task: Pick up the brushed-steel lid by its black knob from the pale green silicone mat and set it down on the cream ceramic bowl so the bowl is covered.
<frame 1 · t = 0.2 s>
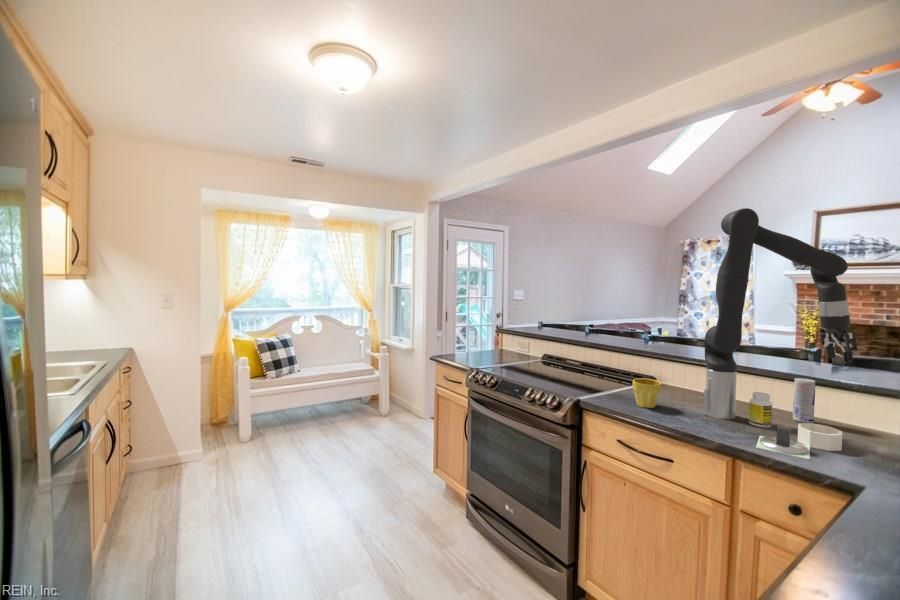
hand: (839, 360, 139), 22 cm above the countertop, tool pointing down, fingers open, 8 cm apart
bowl: (818, 444, 123), on the countertop
mat: (782, 447, 121), on the countertop
lid: (782, 446, 121), resting on mat
plant pot: (646, 405, 161), on the countertop
beverage can: (803, 421, 143), on the countertop
pill bottle: (759, 425, 139), on the countertop
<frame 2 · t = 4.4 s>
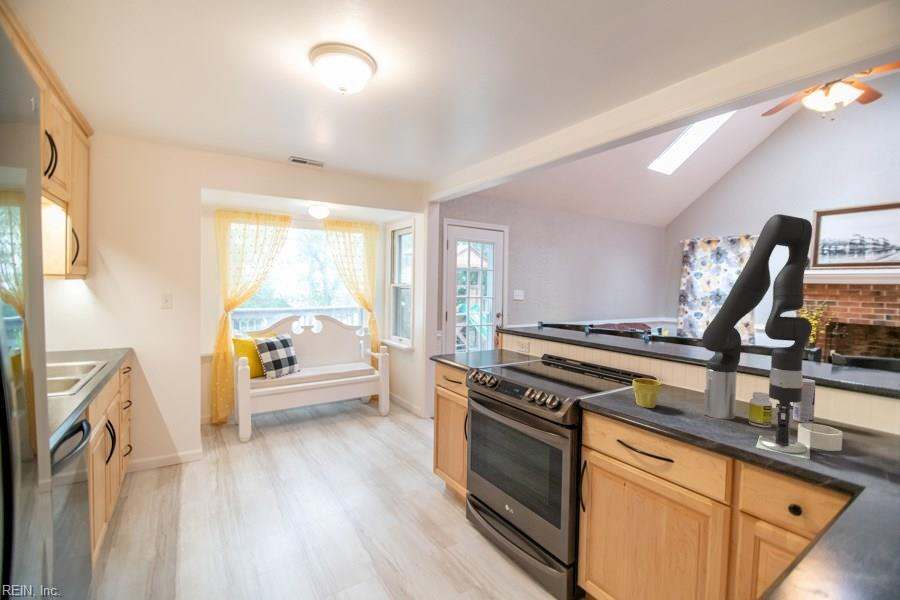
hand: (783, 440, 120), 2 cm above the countertop, tool pointing down, fingers closed on lid, 3 cm apart
lid: (782, 445, 121), point 1 cm above the countertop, touching gripper
everything else where it was.
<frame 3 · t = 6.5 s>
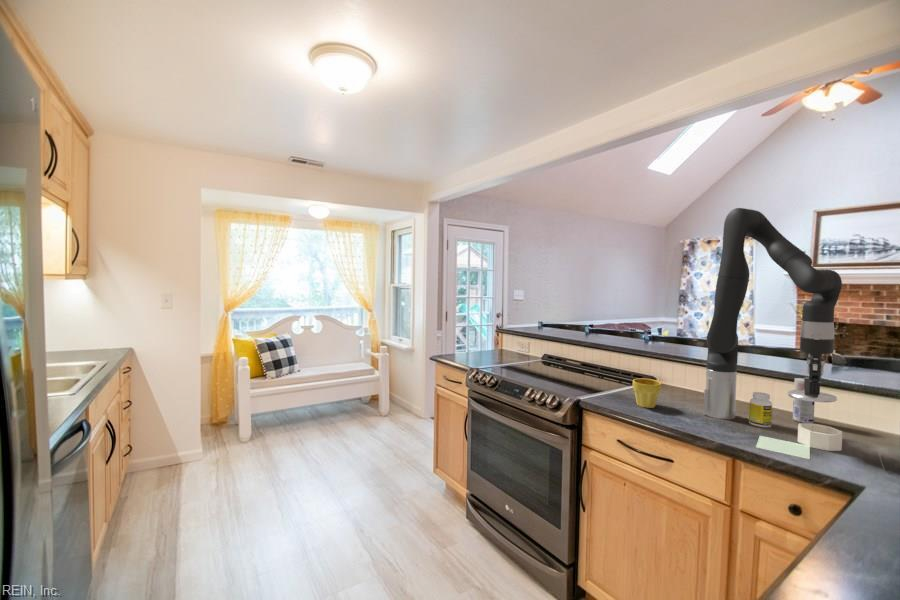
hand: (814, 393, 121), 16 cm above the countertop, tool pointing down, fingers closed on lid, 3 cm apart
lid: (811, 397, 122), point 15 cm above the countertop, touching gripper
everything else where it was.
when the fingers open (8 cm above the countertop, at t = 8.5 s): lid drops 2 cm, resting on bowl.
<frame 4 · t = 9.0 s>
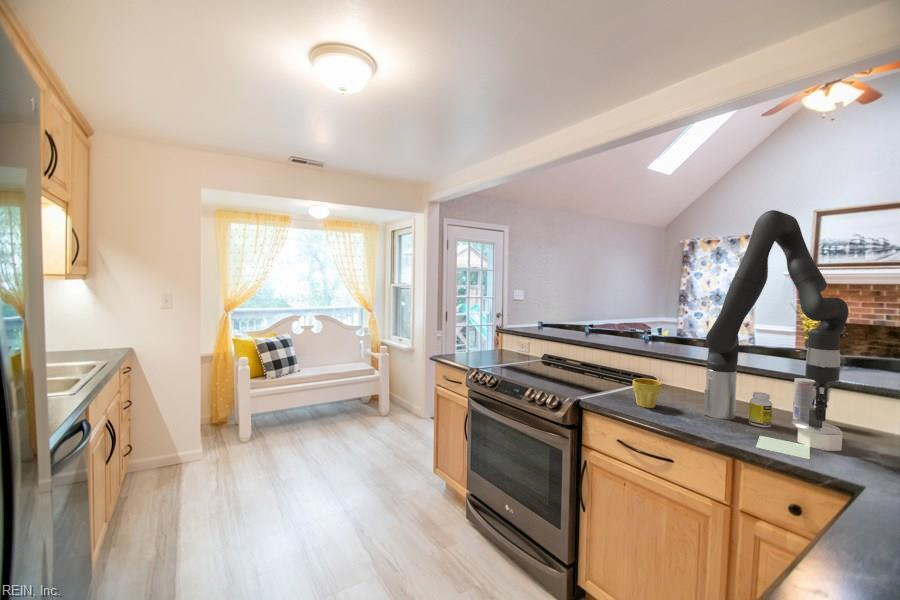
hand: (820, 416, 122), 9 cm above the countertop, tool pointing down, fingers open, 7 cm apart
lid: (815, 428, 123), point 5 cm above the countertop, touching bowl
everything else where it was.
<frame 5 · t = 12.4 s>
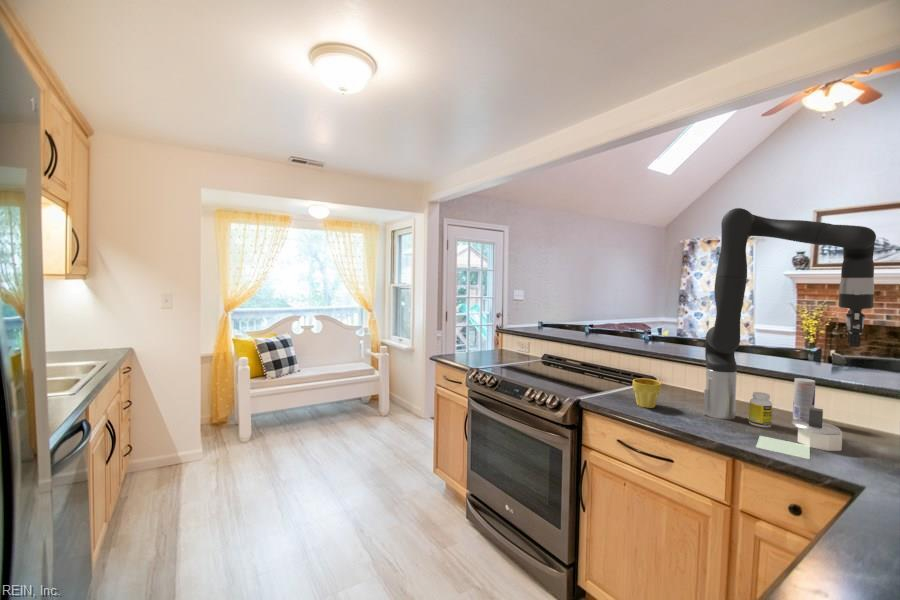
hand: (853, 345, 124), 30 cm above the countertop, tool pointing down, fingers open, 8 cm apart
nothing on the countertop moved.
at the end: lid 1.0 cm off-centre on the bowl, point 5.0 cm above the bowl's base; lid tilted 0°; the gripper is holding nothing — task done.
